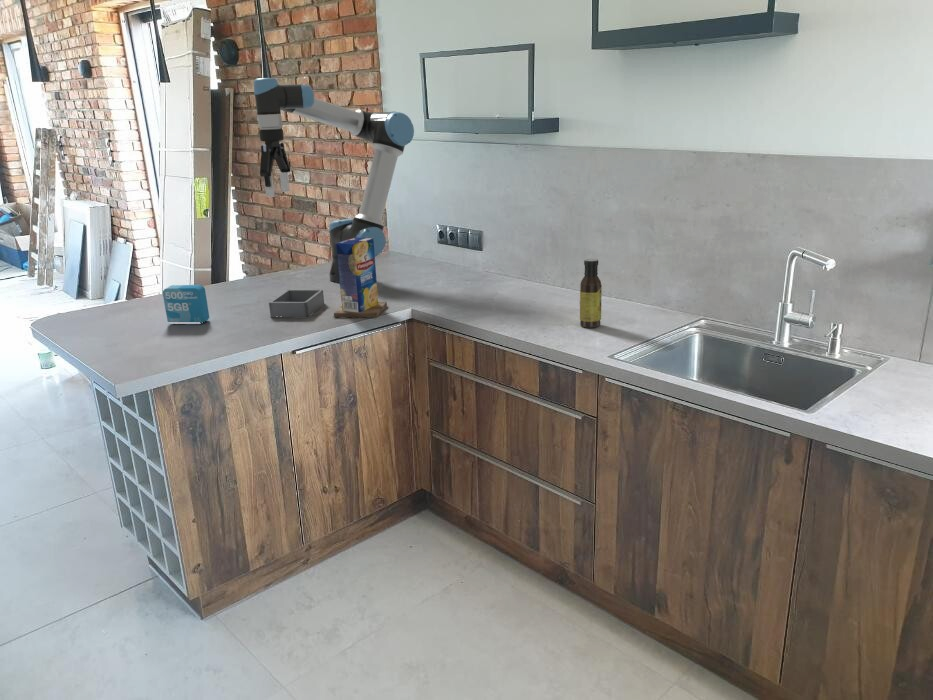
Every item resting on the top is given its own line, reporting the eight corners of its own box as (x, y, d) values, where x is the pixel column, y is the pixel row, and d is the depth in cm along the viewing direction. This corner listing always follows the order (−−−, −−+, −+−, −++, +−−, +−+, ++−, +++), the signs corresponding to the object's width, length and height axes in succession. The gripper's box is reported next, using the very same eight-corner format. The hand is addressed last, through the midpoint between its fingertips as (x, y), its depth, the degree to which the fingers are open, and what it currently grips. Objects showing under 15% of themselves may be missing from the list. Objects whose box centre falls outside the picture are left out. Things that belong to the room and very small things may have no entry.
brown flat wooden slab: (346, 305, 241) (346, 301, 241) (386, 306, 240) (386, 301, 239) (334, 317, 228) (333, 313, 228) (376, 317, 227) (376, 313, 226)
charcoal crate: (289, 303, 247) (287, 289, 245) (324, 303, 245) (322, 289, 243) (270, 317, 231) (268, 302, 229) (307, 317, 229) (306, 302, 228)
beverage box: (378, 304, 237) (373, 238, 229) (359, 312, 227) (353, 244, 220) (361, 302, 240) (356, 237, 232) (342, 310, 230) (335, 243, 223)
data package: (167, 325, 226) (161, 288, 222) (174, 321, 231) (167, 285, 227) (204, 324, 226) (198, 288, 222) (210, 320, 230) (204, 284, 226)
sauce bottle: (604, 327, 210) (606, 261, 203) (584, 329, 208) (585, 262, 202) (595, 321, 215) (597, 256, 209) (576, 323, 214) (577, 258, 208)
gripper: (274, 127, 245) (281, 190, 252) (243, 130, 222) (252, 199, 229) (295, 126, 244) (301, 189, 251) (266, 129, 221) (274, 198, 228)
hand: (278, 194), depth 240 cm, fingers open, 13 cm apart
